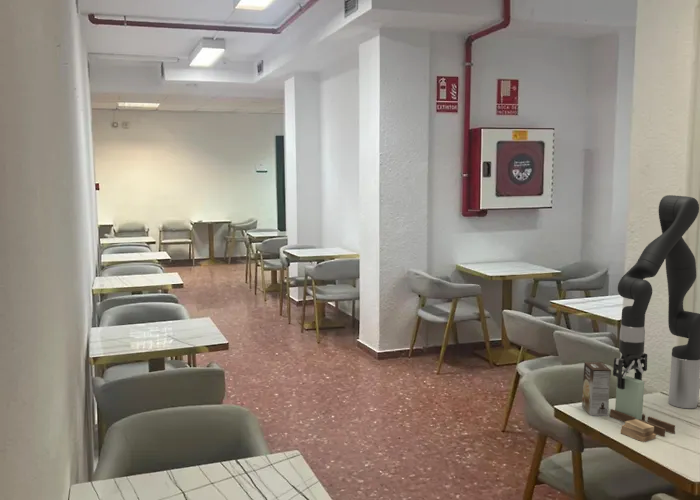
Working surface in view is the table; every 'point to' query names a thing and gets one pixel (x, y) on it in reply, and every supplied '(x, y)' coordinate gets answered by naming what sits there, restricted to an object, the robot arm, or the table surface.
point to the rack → (658, 424)
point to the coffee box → (596, 388)
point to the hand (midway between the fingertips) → (629, 386)
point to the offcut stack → (638, 430)
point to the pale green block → (630, 398)
